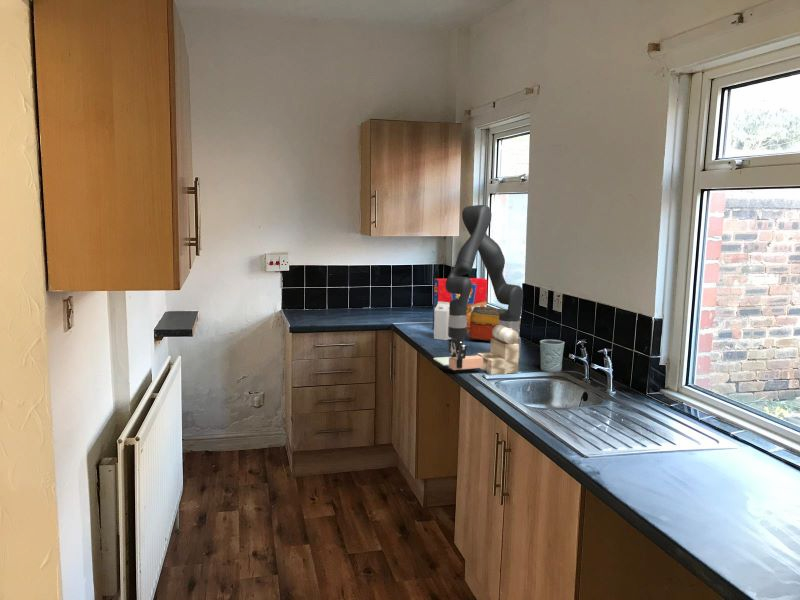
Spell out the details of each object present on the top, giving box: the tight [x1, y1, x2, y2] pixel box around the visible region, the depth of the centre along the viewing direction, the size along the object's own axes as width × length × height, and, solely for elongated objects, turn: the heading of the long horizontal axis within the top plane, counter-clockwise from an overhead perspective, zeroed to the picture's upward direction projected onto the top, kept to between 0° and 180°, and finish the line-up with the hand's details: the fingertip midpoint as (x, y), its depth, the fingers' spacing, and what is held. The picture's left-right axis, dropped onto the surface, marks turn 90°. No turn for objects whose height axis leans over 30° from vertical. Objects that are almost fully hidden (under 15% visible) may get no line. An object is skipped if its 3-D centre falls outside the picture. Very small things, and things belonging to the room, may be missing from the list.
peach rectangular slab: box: [448, 354, 483, 371], centre depth 276 cm, size 13×5×4 cm, turn 109°
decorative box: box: [468, 306, 508, 343], centre depth 343 cm, size 20×22×16 cm
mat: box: [433, 356, 451, 366], centre depth 296 cm, size 16×12×1 cm
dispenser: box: [476, 325, 519, 376], centre depth 280 cm, size 12×14×18 cm
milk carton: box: [433, 301, 452, 341], centre depth 344 cm, size 7×7×19 cm
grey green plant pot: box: [539, 339, 565, 373], centre depth 284 cm, size 10×10×12 cm
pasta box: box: [432, 277, 488, 332], centre depth 369 cm, size 28×8×28 cm, turn 105°
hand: (456, 366), depth 275 cm, fingers closed on peach rectangular slab, 5 cm apart
